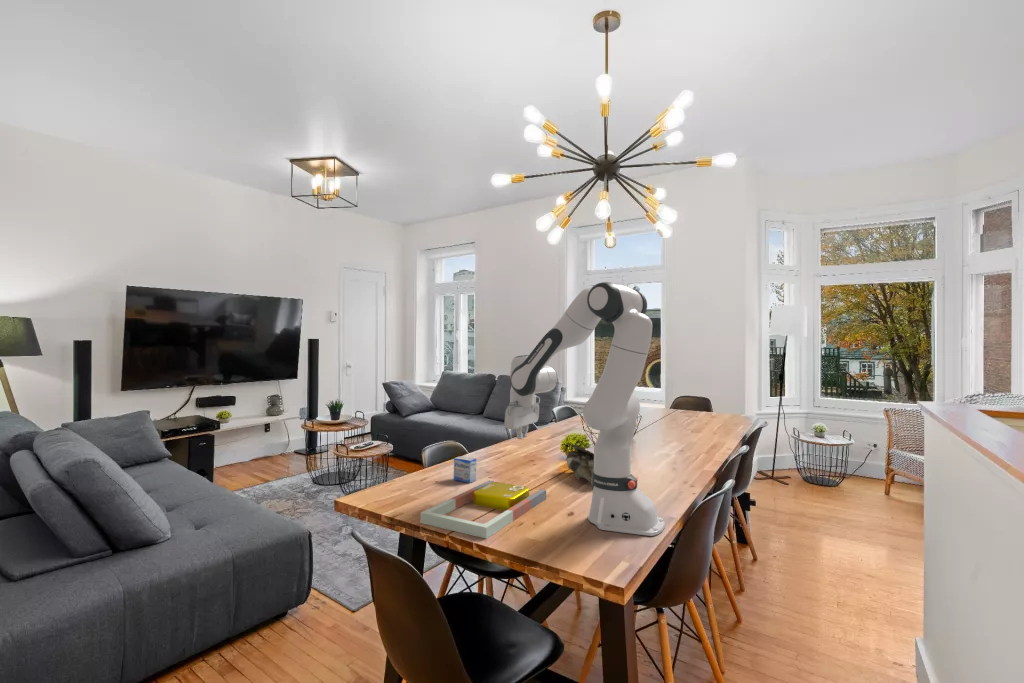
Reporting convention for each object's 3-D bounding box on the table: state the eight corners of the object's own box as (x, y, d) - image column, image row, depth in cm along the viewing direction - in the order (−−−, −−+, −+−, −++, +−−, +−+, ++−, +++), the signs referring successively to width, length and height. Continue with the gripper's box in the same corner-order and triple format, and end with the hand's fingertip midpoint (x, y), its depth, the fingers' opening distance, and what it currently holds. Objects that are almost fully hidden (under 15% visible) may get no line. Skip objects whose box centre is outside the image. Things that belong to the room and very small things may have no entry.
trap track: (546, 498, 166) (546, 490, 166) (486, 538, 132) (486, 527, 132) (489, 488, 177) (489, 480, 177) (420, 522, 143) (420, 512, 143)
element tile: (493, 493, 173) (493, 479, 173) (531, 499, 166) (531, 485, 166) (471, 505, 160) (471, 490, 160) (511, 513, 153) (511, 497, 153)
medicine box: (453, 480, 187) (453, 458, 187) (459, 477, 191) (459, 455, 191) (470, 483, 183) (470, 460, 183) (476, 480, 187) (476, 458, 187)
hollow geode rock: (571, 481, 204) (548, 456, 202) (591, 458, 208) (569, 434, 205) (603, 499, 178) (577, 472, 175) (625, 473, 181) (600, 446, 178)
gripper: (516, 403, 164) (515, 444, 164) (542, 397, 182) (541, 434, 182) (500, 402, 167) (499, 442, 167) (527, 396, 185) (526, 432, 185)
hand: (521, 438), depth 175 cm, fingers closed
